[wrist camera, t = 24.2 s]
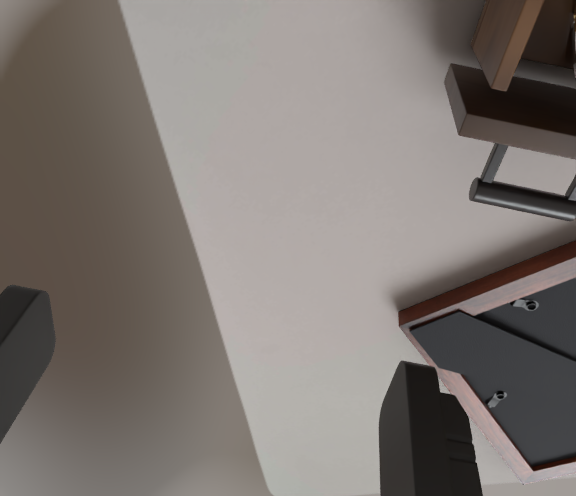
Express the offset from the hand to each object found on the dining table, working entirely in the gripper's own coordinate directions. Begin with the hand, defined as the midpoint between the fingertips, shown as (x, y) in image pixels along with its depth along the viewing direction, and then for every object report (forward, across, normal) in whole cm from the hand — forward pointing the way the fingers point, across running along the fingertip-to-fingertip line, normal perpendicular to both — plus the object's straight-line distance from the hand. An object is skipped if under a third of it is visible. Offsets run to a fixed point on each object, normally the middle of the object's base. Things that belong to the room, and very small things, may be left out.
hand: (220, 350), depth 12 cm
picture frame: (+26, -27, +23) cm, 44 cm away
